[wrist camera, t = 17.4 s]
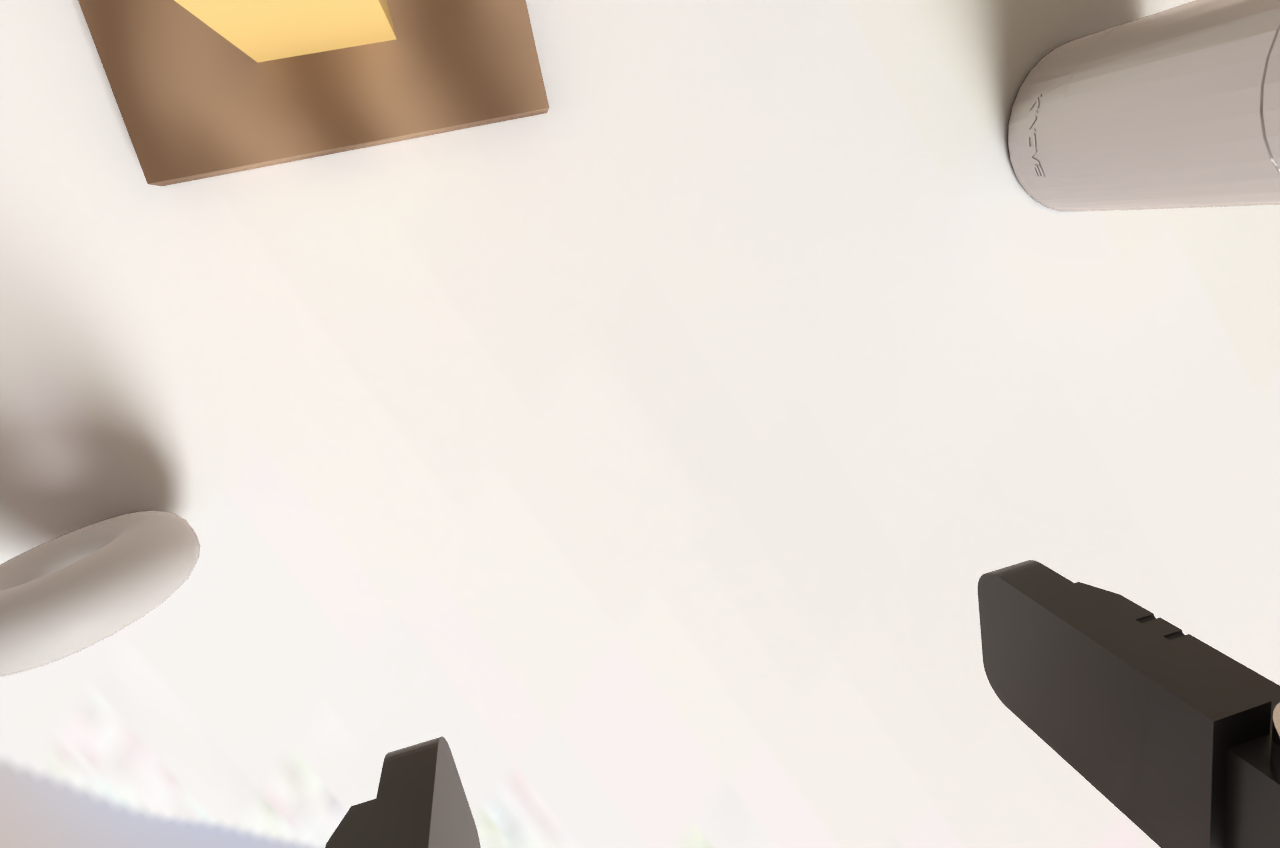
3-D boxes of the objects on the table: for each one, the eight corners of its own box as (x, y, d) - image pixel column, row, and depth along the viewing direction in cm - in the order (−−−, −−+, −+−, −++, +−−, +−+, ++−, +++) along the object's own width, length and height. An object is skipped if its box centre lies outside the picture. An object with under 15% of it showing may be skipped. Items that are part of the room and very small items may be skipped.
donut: (44, 604, 37) (-110, 731, 28) (7, 545, 36) (-164, 656, 27) (241, 537, 38) (160, 637, 29) (211, 478, 37) (117, 561, 28)
